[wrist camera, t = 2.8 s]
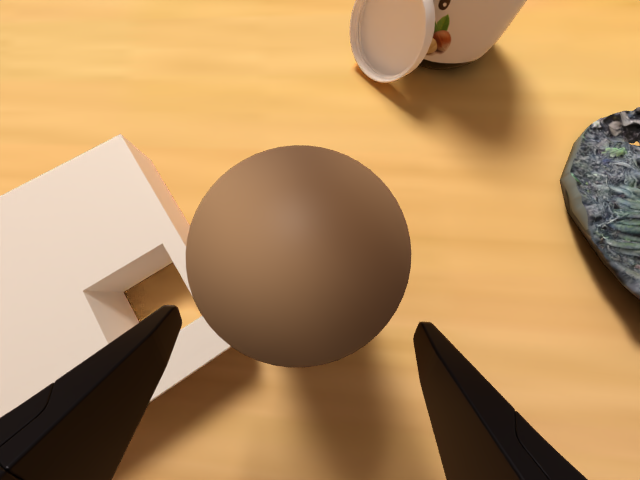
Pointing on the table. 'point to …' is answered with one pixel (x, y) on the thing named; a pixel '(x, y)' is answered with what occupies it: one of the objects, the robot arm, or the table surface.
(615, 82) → the table surface
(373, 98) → the table surface
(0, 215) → the white board
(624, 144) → the tree stump
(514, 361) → the table surface
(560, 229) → the table surface
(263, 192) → the walnut peg
